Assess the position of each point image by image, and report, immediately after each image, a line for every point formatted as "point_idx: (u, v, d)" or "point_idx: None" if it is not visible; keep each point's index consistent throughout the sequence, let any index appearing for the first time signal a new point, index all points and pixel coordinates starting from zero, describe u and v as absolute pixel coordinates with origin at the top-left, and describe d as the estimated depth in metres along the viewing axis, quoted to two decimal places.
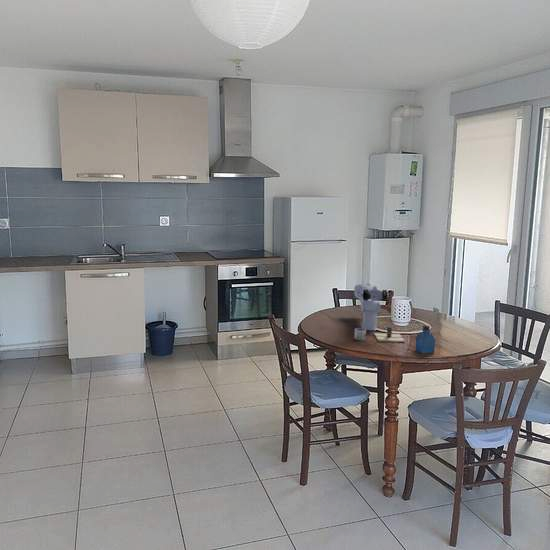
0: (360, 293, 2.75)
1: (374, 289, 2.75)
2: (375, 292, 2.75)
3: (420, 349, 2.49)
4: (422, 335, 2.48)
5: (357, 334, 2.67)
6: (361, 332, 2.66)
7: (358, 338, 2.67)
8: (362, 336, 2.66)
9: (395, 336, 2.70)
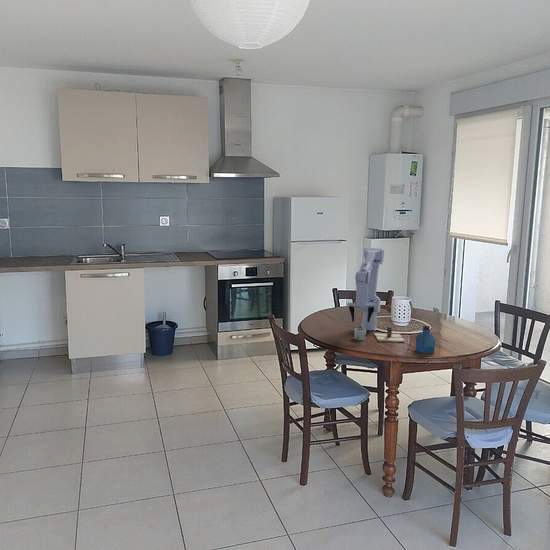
0: (347, 304, 2.66)
1: None
2: None
3: (420, 349, 2.49)
4: (422, 335, 2.48)
5: (357, 334, 2.67)
6: (361, 332, 2.66)
7: (358, 338, 2.67)
8: (362, 336, 2.66)
9: (395, 336, 2.70)
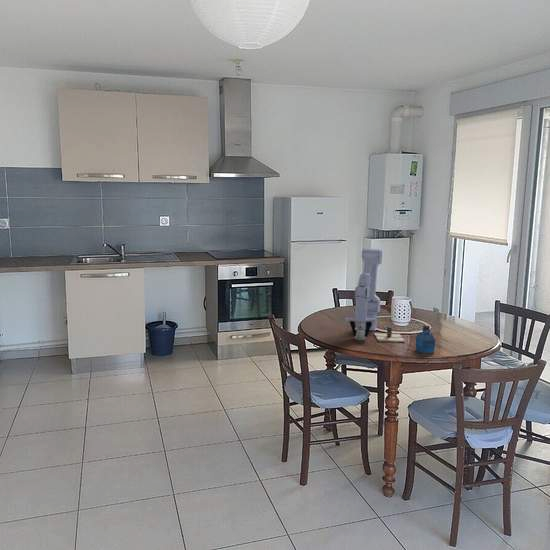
0: (346, 319, 2.67)
1: None
2: None
3: (420, 349, 2.49)
4: (422, 335, 2.48)
5: (357, 334, 2.67)
6: (361, 332, 2.66)
7: (358, 338, 2.67)
8: (362, 336, 2.66)
9: (395, 336, 2.70)
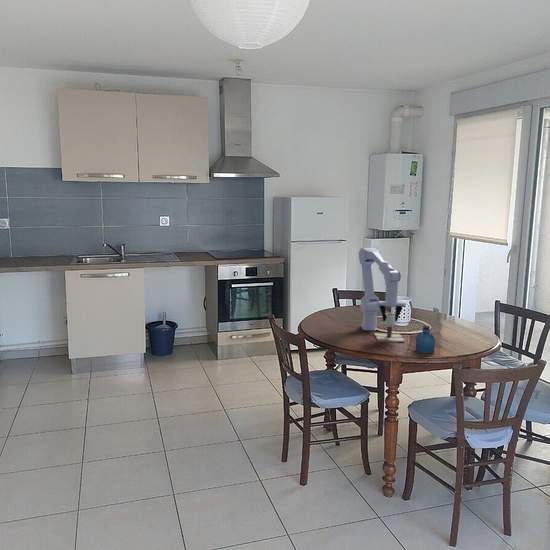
0: (376, 303, 2.67)
1: (391, 305, 2.65)
2: None
3: (420, 349, 2.49)
4: (422, 335, 2.48)
5: (387, 319, 2.67)
6: (391, 317, 2.66)
7: (388, 323, 2.67)
8: (392, 321, 2.66)
9: (395, 336, 2.70)
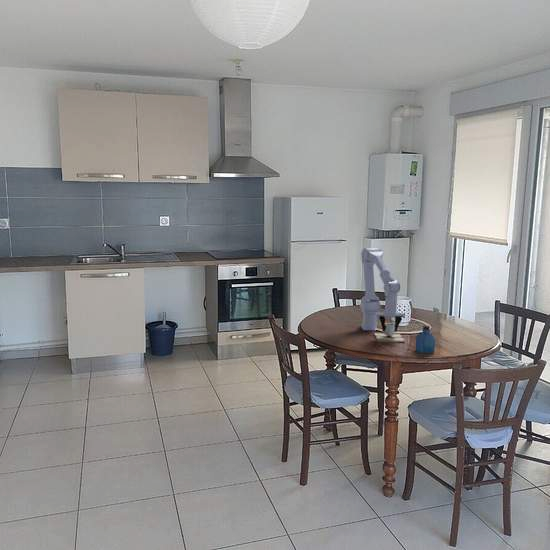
0: (376, 314, 2.68)
1: (391, 316, 2.66)
2: None
3: (420, 349, 2.49)
4: (422, 335, 2.48)
5: (387, 329, 2.67)
6: (391, 327, 2.67)
7: (388, 333, 2.67)
8: (392, 331, 2.67)
9: (395, 336, 2.70)
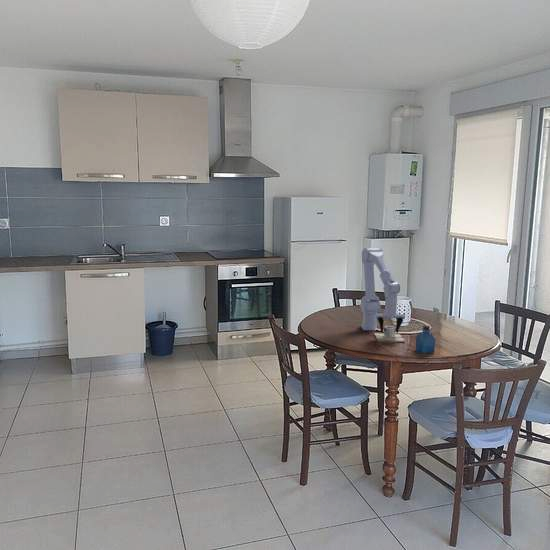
0: (376, 315, 2.68)
1: None
2: None
3: (420, 349, 2.49)
4: (422, 335, 2.48)
5: (387, 332, 2.68)
6: (391, 330, 2.67)
7: (388, 336, 2.68)
8: (392, 334, 2.67)
9: (395, 336, 2.70)
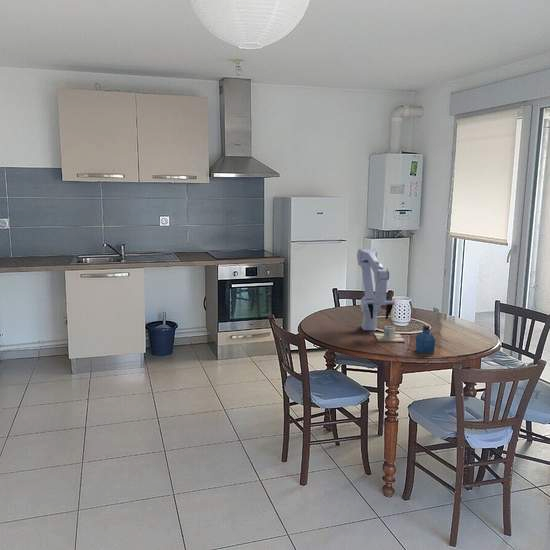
0: (366, 301, 2.71)
1: (380, 303, 2.69)
2: None
3: (420, 349, 2.49)
4: (422, 335, 2.48)
5: (387, 332, 2.68)
6: (391, 330, 2.67)
7: (388, 336, 2.68)
8: (392, 334, 2.67)
9: (395, 336, 2.70)
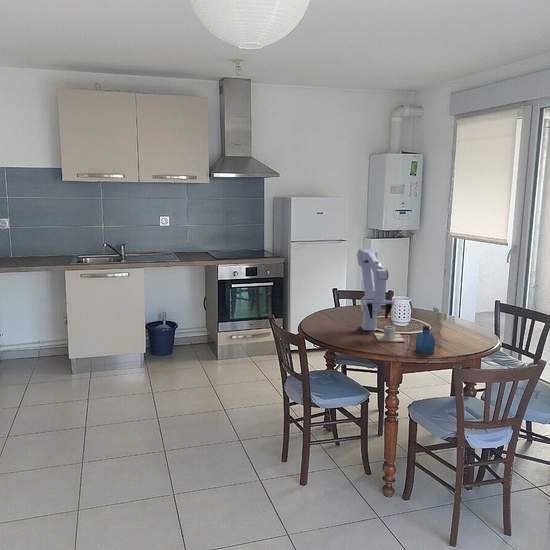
0: (365, 301, 2.72)
1: None
2: None
3: (420, 349, 2.49)
4: (422, 335, 2.48)
5: (387, 332, 2.68)
6: (391, 330, 2.67)
7: (388, 336, 2.68)
8: (392, 334, 2.67)
9: (395, 336, 2.70)
